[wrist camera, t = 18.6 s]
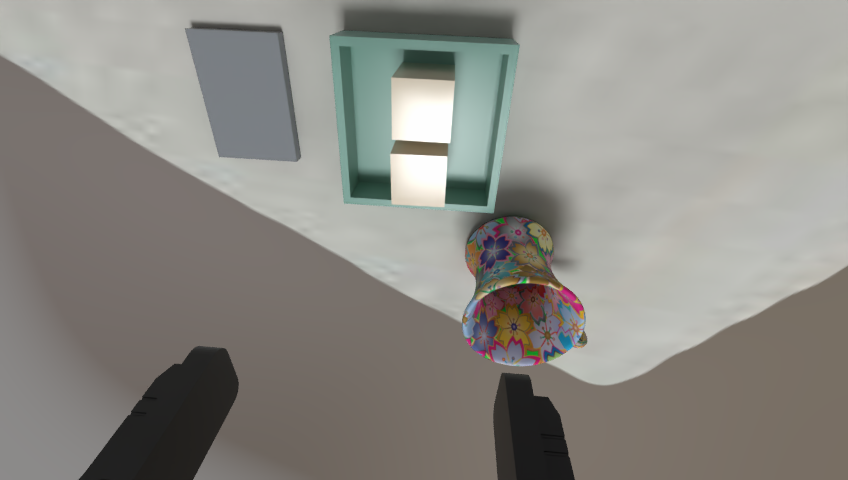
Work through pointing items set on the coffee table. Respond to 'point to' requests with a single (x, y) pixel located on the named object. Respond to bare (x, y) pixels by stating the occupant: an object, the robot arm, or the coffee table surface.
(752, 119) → the coffee table surface
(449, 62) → the green bin
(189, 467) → the robot arm
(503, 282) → the floral patterned vase
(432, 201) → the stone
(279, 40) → the slate board
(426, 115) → the block
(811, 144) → the coffee table surface
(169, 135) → the coffee table surface
